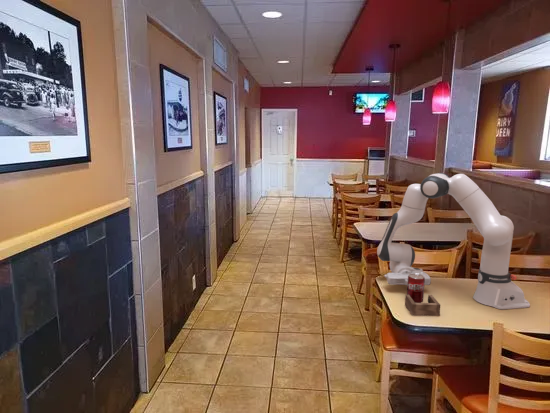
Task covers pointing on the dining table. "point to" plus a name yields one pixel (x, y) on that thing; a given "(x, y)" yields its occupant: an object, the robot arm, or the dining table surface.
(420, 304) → the brown wooden u-shaped frame
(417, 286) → the soda can
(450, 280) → the dining table surface
